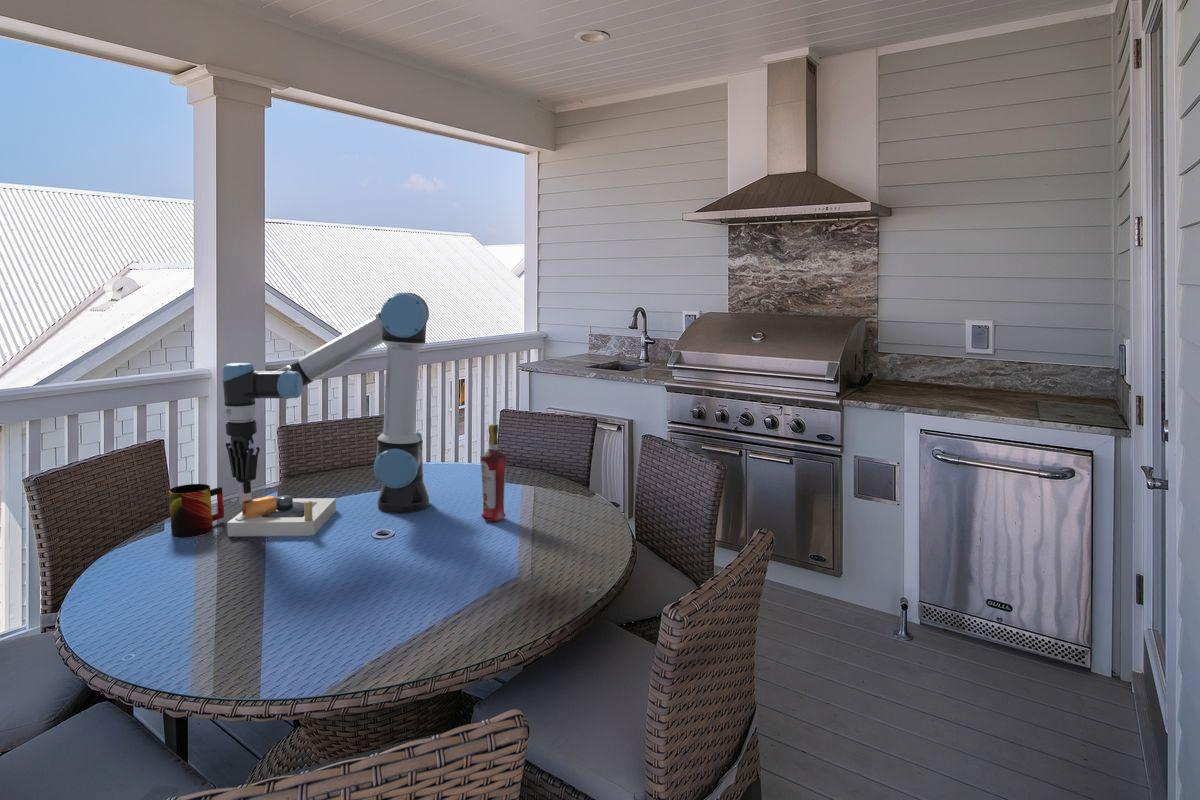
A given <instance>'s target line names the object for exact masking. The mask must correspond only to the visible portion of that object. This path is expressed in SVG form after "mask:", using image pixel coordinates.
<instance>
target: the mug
mask: <svg viewBox="0 0 1200 800" xmlns="http://www.w3.org/2000/svg"><path fill="white" fill-rule="evenodd" d="M214 496H216V497H217V513H214V514H213V510H212V497H214ZM168 501H169V514H170V528H171V536H172V537H173V538H178V539H188V538H190V537H191V538H197V537H201V535H202V536H205V535H207V533H208V534H210V533H212V531H213V530H214V529H213V528H214V527H213V526H214V525H213V522H215V521H218V520H221V519H223V518H225V511H224V509H225V507H224V498H223V487H222V486H218V487H216V488H212V489H211V486H210V485H209V484H205V483H190V484H189V483H188V484H183V485H177V486H174V487H172V488H169V489H168ZM209 532H210V533H209ZM204 534H205V535H204ZM196 536H197V537H196Z"/></svg>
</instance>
